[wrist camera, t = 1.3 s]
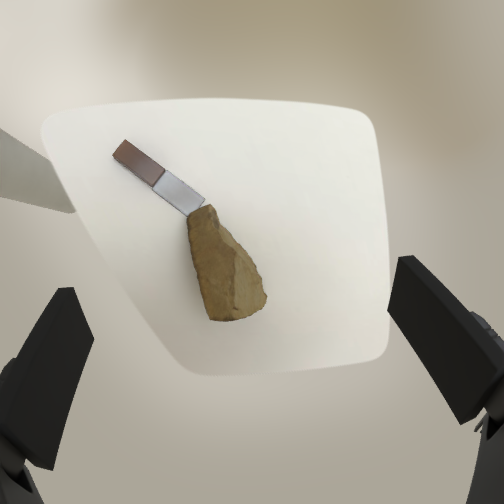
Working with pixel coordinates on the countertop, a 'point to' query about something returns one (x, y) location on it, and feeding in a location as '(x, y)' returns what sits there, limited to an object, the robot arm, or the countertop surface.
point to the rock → (223, 269)
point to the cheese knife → (158, 178)
